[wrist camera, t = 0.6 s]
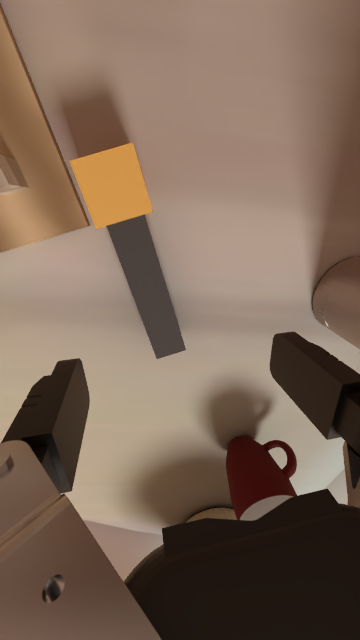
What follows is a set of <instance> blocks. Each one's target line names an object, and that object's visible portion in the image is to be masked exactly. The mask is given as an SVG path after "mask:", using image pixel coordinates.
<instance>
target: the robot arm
mask: <svg viewBox="0 0 360 640" xmlns="http://www.w3.org/2000/svg"><path fill="white" fill-rule="evenodd" d="M312 306H313V313H314V315H315V317H316V319H317V320H318V321H319V323H321V324H322V325H324V326H325V327H327V328H328V329H330V330H331V331H333V332H334V333H336V334H337V335H339V336H340V337H342V338H343V339H345V340H346V341H348V342H349V343H351V344H352V345H354V346H355V347H357V348H359V349H360V256H358V257H352V258H348V259H345V260H344V261H342V262H340V263H338V264H336V265H335V266H334V267H332V268H331V269H330V270H329V271H328V272H327V273H326V274H325V275H324V277H323V278H322V279H321V281H320V282H319V284H318V286H317V288H316V290H315V293H314V297H313V304H312ZM270 371H271V374H272V376H273V378H274V379H275V381H276V382H277V383H278V384H279V385H280V386H281V387H282V389H283V390H284V391H285V392H286V393H287V394H288V396H289V397H290V398H291V399H292V400H293V401H294V402H295V404H296V405H297V406H298V407H299V408H300V409H301V410H302V412H303V413H304V414H305V415H306V416H307V417H308V418H309V420H310V421H311V422H312V423H313V424H314V425H315V427H316V428H317V429H318V430H319V431H320V432H321V433H322V435H323V436H324V437H325V438H326V439H327V440H329V439H333V438H338V437H342V438H343V439H344V440H345V441H344V445H343V456H344V465H345V474H346V483H347V493H348V505H345V504H339V503H338V502H337V501H336V500H335V498H334V497H333V496H332V494H331V493H330V491H329V490H328V489H324V490H320V491H316V492H312V493H308V494H303V495H299V496H295V497H291V498H289V499H287V500H286V501H284V502H283V503H281V504H280V505H278V506H277V507H275V508H274V509H272V510H271V511H269V512H268V513H266V514H265V515H263V516H262V517H260V518H258V519H256V520H253V521H247V520H232V519H216V518H204V519H199V520H195V521H191V522H187V523H183V524H179V525H174V526H170V527H166V528H162V534H163V543H164V544H163V545H161V546H160V547H158V548H157V549H155V550H154V551H152V552H151V553H150V554H149V555H148V556H146V557H145V558H144V559H143V560H142V561H141V562H140V563H139V564H138V565H137V566H136V567H135V568H134V569H133V571H132V572H131V573H130V574H129V576H128V577H127V578H126V580H125V581H124V582H123V580H122V579H121V577H120V576H119V574H118V573H117V571H116V570H115V569H114V567H113V565H112V564H111V562H110V561H109V559H108V558H107V556H106V555H105V553H104V552H103V550H102V549H101V547H100V546H99V544H98V543H97V541H96V540H95V538H94V537H93V535H92V533H91V532H90V530H89V529H88V527H87V526H86V524H85V523H84V521H83V520H82V518H81V517H80V515H79V514H78V512H77V511H76V509H75V508H74V506H73V505H72V503H71V502H70V500H69V499H68V498H67V496H66V495H65V494H62V495H61V494H60V493H65V492H70V491H72V487H73V482H74V477H75V473H76V468H77V463H78V458H79V453H80V448H81V444H82V439H83V434H84V429H85V424H86V419H87V415H88V410H89V391H88V386H87V382H86V378H85V373H84V369H83V365H82V361H81V360H80V359H79V358H78V359H70V360H62V361H58V362H57V364H56V366H55V368H54V370H53V372H52V375H49V376H44V377H42V378H41V379H40V380H39V381H38V382H37V383H36V384H35V385H33V387H32V388H31V390H30V392H29V394H28V396H27V399H25V401H24V403H23V405H22V408H20V410H19V412H18V414H17V415H16V417H15V419H14V421H13V422H12V424H11V426H10V428H9V430H8V431H7V433H6V435H5V437H4V439H3V440H2V442H1V444H0V640H360V374H359V373H357V372H356V371H354V370H353V369H351V368H350V367H349V366H347V365H346V364H344V363H343V362H341V361H338V359H337V358H336V357H334V356H333V355H330V353H329V352H327V351H326V350H324V349H323V348H321V347H320V346H318V345H315V344H313V343H310V342H308V341H307V340H305V339H304V338H303V337H301V336H300V335H298V334H297V333H296V332H286V333H278V334H275V336H274V338H273V344H272V351H271V359H270Z"/></svg>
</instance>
